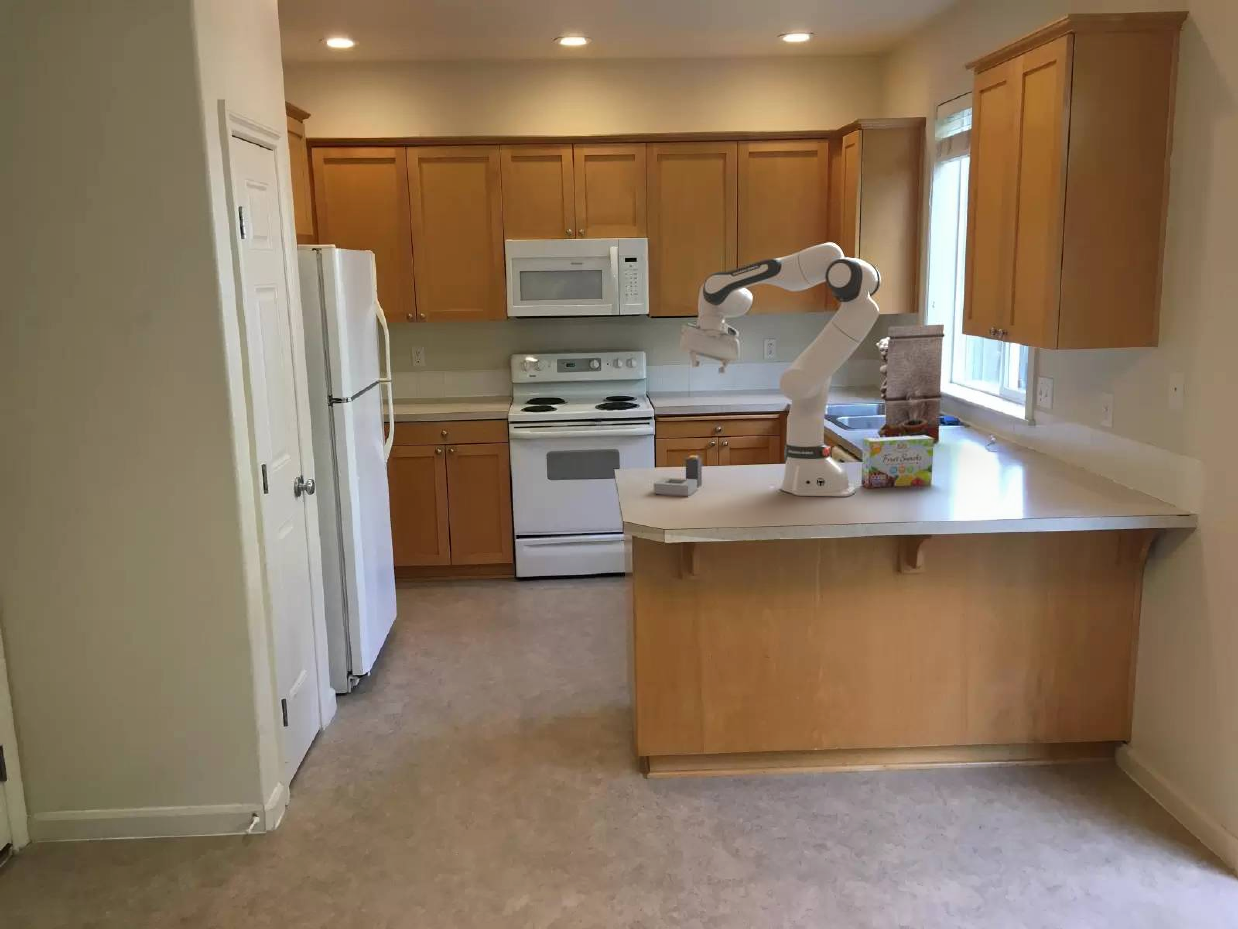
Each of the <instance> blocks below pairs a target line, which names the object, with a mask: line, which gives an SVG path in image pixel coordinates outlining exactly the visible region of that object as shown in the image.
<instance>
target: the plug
mask: <svg viewBox="0 0 1238 929" xmlns="http://www.w3.org/2000/svg"><path fill="white" fill-rule="evenodd" d="M702 459H703V458H702V456H699V455H690V456H688V457H687V458H685V479H697V489H698V488H700V487H701V486H702V484H703V477H702V476H703V475H702V473H703V471H702V468H703V466H702V465H703V464H702V461H703V460H702ZM699 486H700V487H699Z"/></svg>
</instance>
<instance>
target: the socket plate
mask: <svg viewBox="0 0 1238 929" xmlns="http://www.w3.org/2000/svg"><path fill="white" fill-rule="evenodd" d="M697 491H698V488H697V479H686V478H679V477H661V478H660V479H659V480H657V481H655V482H654V483H653V495H654V494H661V495H660V496H667V495H669V497H681V496H687V497H686V498H689V497H690V496H692V495H693V494H695V493H697ZM688 496H689V497H688Z"/></svg>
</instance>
